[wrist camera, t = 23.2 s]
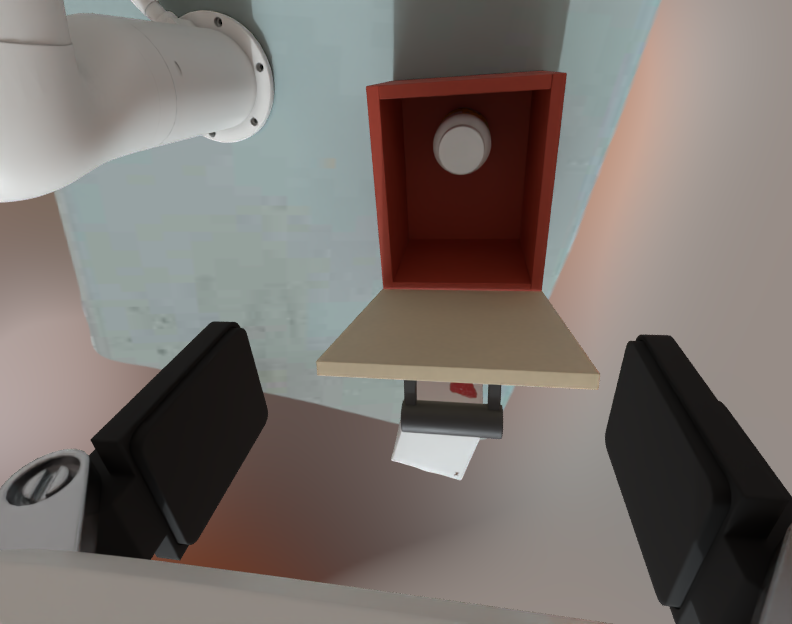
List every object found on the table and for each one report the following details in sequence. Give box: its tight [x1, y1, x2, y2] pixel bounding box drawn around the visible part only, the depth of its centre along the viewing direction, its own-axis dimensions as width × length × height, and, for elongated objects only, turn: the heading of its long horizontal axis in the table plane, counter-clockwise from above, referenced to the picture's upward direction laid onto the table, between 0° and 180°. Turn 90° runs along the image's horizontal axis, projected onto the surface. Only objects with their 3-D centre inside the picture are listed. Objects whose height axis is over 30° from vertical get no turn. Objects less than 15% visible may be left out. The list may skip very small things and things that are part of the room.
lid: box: [316, 289, 600, 439], centre depth 33 cm, size 19×15×5 cm
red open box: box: [366, 71, 567, 291], centre depth 42 cm, size 18×15×13 cm
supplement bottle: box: [433, 107, 491, 175], centre depth 41 cm, size 5×5×10 cm
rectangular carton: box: [391, 381, 483, 480], centre depth 56 cm, size 9×9×15 cm
